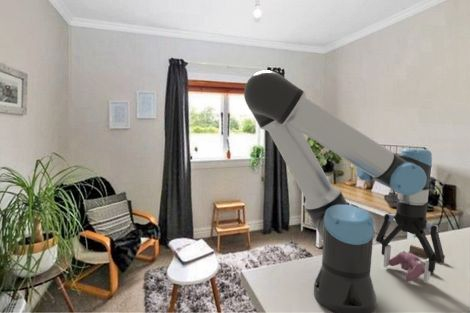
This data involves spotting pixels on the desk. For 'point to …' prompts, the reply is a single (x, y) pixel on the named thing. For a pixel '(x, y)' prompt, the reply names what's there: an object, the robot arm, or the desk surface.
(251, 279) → the desk surface
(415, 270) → the video game controller
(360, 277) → the robot arm
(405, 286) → the desk surface
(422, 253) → the dock
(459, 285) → the desk surface
